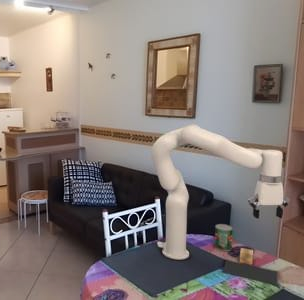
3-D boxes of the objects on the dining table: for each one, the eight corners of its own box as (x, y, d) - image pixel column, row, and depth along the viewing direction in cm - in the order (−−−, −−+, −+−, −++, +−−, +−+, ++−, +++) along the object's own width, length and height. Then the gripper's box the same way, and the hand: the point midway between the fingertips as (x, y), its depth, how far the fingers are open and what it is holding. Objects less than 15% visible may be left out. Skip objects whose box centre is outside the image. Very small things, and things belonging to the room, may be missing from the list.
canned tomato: (234, 250, 159) (235, 230, 157) (218, 251, 159) (219, 230, 157) (226, 243, 167) (227, 224, 165) (211, 244, 167) (212, 224, 165)
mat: (222, 272, 140) (222, 271, 140) (226, 260, 150) (226, 260, 150) (277, 285, 129) (277, 284, 129) (276, 271, 139) (277, 271, 139)
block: (239, 262, 148) (240, 252, 147) (240, 257, 152) (241, 247, 151) (252, 264, 145) (252, 254, 145) (252, 260, 149) (253, 250, 149)
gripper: (285, 176, 139) (282, 214, 141) (244, 177, 139) (242, 214, 142) (297, 180, 131) (293, 220, 134) (254, 181, 132) (251, 220, 134)
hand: (267, 217), depth 138 cm, fingers open, 9 cm apart
